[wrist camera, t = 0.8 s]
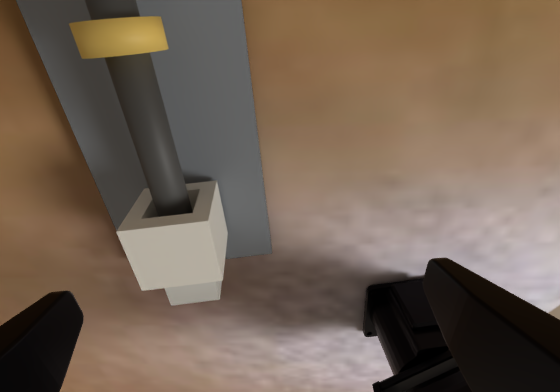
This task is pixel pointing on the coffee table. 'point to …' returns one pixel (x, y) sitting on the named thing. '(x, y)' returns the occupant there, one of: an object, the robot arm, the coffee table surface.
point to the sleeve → (176, 240)
